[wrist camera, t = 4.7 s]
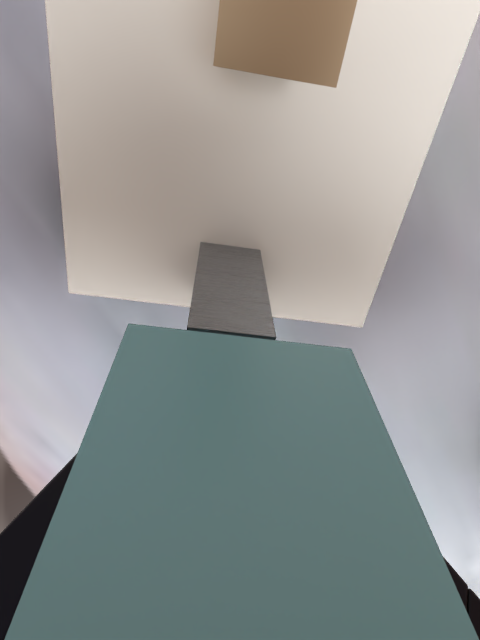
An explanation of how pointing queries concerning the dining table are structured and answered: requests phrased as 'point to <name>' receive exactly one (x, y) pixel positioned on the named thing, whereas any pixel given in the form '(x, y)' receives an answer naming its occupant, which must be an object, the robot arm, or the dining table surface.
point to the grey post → (230, 293)
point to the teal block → (237, 506)
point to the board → (242, 150)
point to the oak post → (284, 38)
